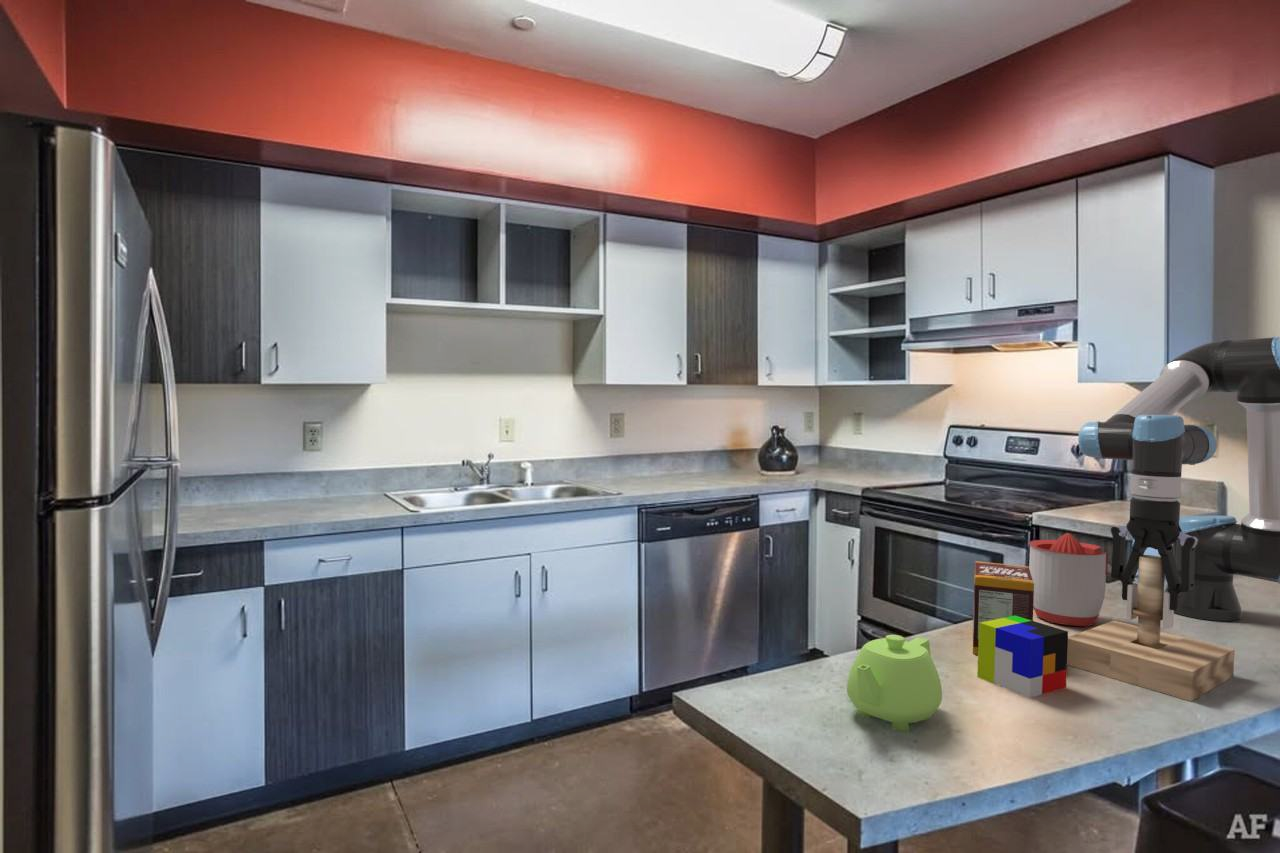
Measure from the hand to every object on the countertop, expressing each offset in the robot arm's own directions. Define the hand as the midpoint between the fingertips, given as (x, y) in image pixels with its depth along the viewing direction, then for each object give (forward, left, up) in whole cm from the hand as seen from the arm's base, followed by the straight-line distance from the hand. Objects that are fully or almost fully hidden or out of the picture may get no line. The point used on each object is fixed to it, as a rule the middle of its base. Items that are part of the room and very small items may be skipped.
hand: (1149, 622), depth 134 cm
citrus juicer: (-20, -23, -9) cm, 32 cm away
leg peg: (0, 0, -4) cm, 4 cm away
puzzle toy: (+26, -10, -9) cm, 29 cm away
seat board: (0, 0, -9) cm, 9 cm away
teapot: (+57, -14, -9) cm, 59 cm away
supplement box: (+11, -22, -9) cm, 26 cm away
